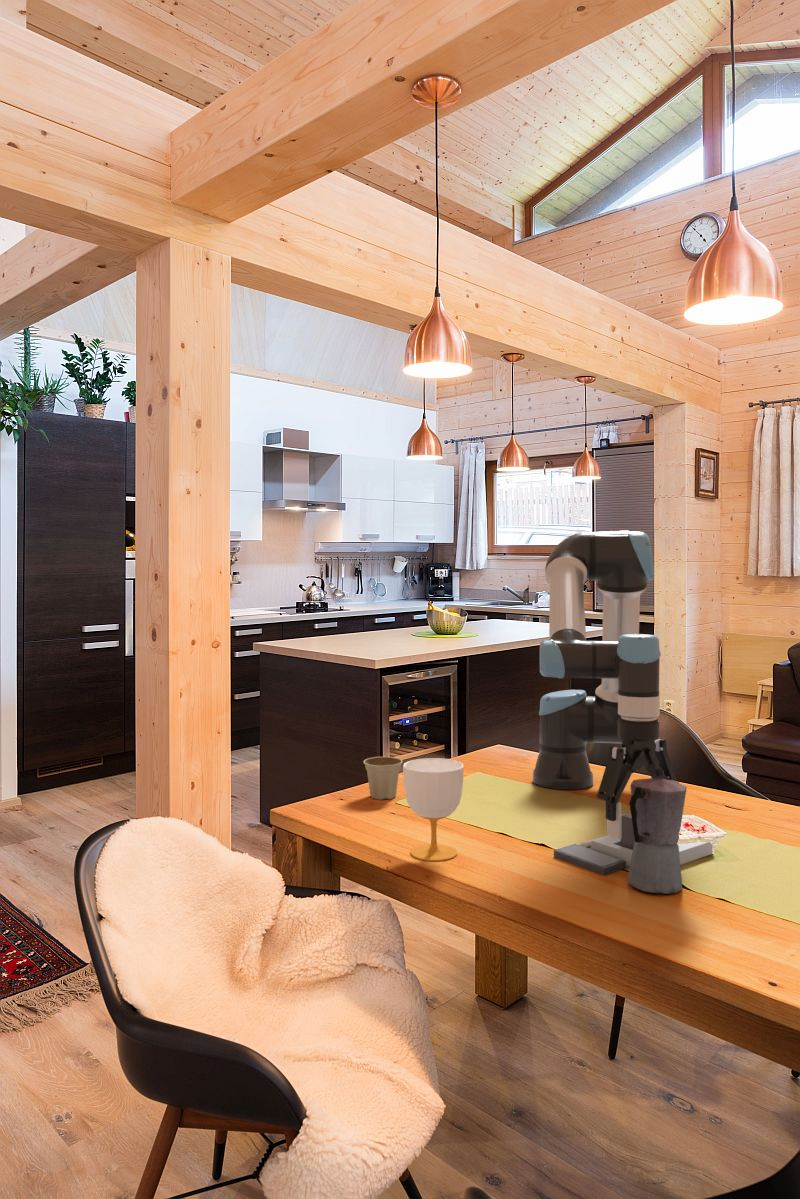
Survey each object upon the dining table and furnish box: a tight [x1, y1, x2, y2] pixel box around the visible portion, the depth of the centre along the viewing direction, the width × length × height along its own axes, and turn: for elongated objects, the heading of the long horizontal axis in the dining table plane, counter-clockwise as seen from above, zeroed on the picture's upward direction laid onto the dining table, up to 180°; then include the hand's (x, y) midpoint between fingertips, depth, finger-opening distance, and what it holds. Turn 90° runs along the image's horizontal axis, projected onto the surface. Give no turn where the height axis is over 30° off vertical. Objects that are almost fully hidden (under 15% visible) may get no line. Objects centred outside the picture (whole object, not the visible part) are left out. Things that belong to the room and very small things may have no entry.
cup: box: [402, 757, 465, 862], centre depth 156 cm, size 12×12×17 cm
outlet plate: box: [590, 835, 713, 868], centre depth 156 cm, size 18×14×3 cm
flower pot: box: [363, 756, 404, 801], centre depth 197 cm, size 9×9×9 cm
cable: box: [577, 836, 602, 848], centre depth 161 cm, size 11×1×1 cm, turn 126°
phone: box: [553, 843, 627, 876], centre depth 151 cm, size 6×12×1 cm, turn 36°
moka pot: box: [627, 769, 688, 895], centre depth 139 cm, size 10×15×20 cm, turn 138°
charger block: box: [621, 811, 635, 850], centre depth 153 cm, size 4×4×8 cm
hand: (638, 830), depth 153 cm, fingers open, 13 cm apart
